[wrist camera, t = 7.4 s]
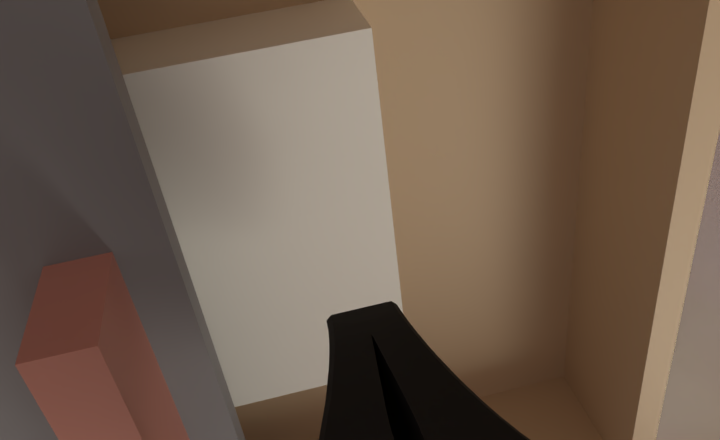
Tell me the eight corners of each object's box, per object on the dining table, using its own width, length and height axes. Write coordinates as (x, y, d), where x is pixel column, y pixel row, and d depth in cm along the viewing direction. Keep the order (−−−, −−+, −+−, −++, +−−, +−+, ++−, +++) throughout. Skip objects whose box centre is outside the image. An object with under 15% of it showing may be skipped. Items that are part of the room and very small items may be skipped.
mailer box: (575, 374, 26) (646, 485, 22) (103, 493, 24) (86, 638, 20) (643, -372, 14) (834, -430, 10) (-315, -245, 12) (-576, -251, 8)
